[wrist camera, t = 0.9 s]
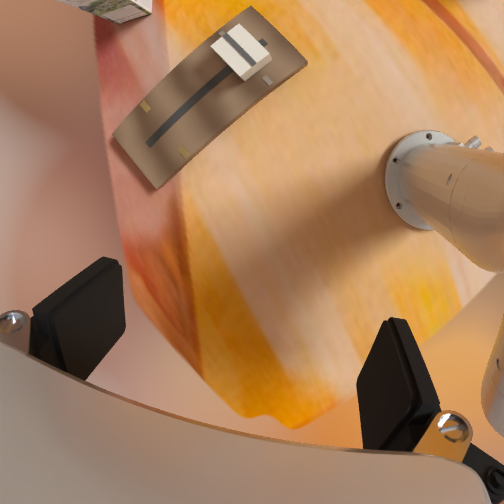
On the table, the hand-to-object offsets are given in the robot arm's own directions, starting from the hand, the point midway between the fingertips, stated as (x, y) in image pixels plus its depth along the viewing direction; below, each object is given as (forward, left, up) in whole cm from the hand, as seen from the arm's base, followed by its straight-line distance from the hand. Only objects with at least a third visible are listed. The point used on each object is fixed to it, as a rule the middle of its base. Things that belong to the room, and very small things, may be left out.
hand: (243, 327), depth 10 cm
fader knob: (-6, -15, -27) cm, 32 cm away
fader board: (+1, -15, -29) cm, 33 cm away
